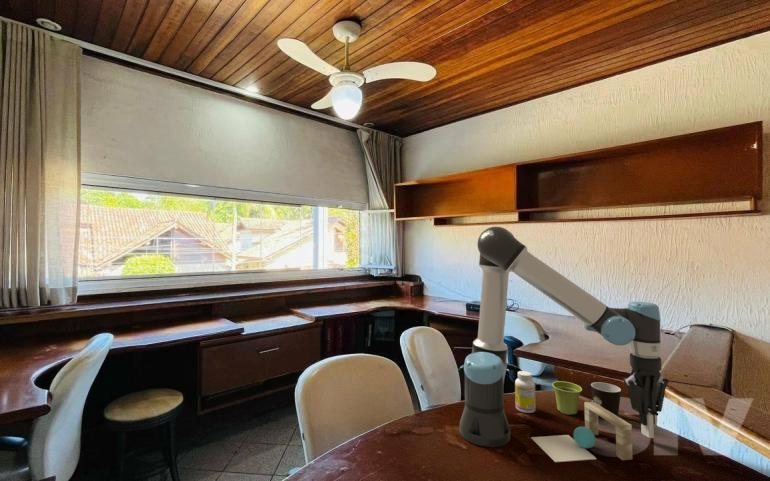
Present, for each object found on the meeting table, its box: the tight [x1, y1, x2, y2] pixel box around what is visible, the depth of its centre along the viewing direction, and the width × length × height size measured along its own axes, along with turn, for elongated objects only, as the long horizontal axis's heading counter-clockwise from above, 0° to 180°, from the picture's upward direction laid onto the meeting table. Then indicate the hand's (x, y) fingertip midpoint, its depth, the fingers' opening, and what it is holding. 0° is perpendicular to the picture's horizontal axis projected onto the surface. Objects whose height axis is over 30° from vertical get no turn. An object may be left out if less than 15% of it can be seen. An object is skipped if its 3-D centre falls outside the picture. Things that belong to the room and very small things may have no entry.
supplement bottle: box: [514, 370, 536, 414], centre depth 122 cm, size 7×7×13 cm
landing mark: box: [530, 434, 598, 463], centre depth 98 cm, size 12×12×1 cm
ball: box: [572, 425, 596, 449], centre depth 98 cm, size 6×6×6 cm
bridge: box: [583, 401, 634, 461], centre depth 99 cm, size 3×14×9 cm, turn 6°
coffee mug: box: [586, 381, 622, 422], centre depth 118 cm, size 12×9×10 cm
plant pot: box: [551, 380, 583, 416], centre depth 120 cm, size 9×9×9 cm
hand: (647, 435), depth 101 cm, fingers closed
